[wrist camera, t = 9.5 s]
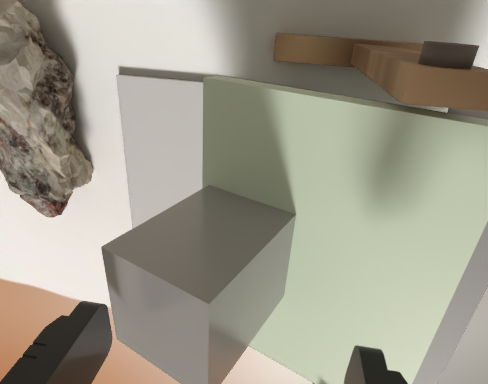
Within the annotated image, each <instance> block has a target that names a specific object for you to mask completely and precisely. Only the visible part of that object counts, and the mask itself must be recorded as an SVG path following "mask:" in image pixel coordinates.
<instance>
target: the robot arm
mask: <svg viewBox="0 0 488 384" xmlns="http://www.w3.org/2000/svg"><path fill="white" fill-rule="evenodd" d="M111 344H112V331H111V325H110V320H109V314H108V308H107V306H106V305H105V304H100V303H93V302H87V301H82V302H80V303H79V304H78V305H77V306H76V308H75V309H74V310H73V312H72V313H71V314H70V315H69V316H63V315H62V316H60V317H59V318H57V319H56V320H55V321H53V322H52V323H50V324H49V325H48V326H46V327H45V329H43V331H42V332H41V333H40V334H39V335H38V337H37V338H36V339H35V340H34V342H33V344H32V345H30V347H29V348H28V349H27V350H26V351H25V352H24V354H23V357H22V358H20V359H19V360H18V361H17V362H16V364H15V365H14V366H13V367H12V368H11V370H10V371H9V372H8V373H7V374H6V376H5V377H4V378H3V379H2V380H1V382H0V384H91V383H92V382H93V380H94V378H95V376H96V375H97V373H98V371H99V369H100V368H101V366H102V364H103V362H104V361H105V359H106V357H107V355H108V353H109V350H110V347H111ZM344 384H408V383H407V382H406V380H405V379H404V377H403V376H402V374H401V373H400V372H398V371H391V370H388V369H387V365H386V361H385V357H384V354H383V352H382V350H381V349H377V348H370V347H364V346H358V345H355V346H354V349H353V352H352V355H351V358H350V361H349V365H348V368H347V371H346V374H345V378H344Z"/></svg>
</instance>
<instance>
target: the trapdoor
mask: <svg viewBox="0 0 488 384" xmlns="http://www.w3.org/2000/svg"><path fill="white" fill-rule="evenodd" d="M208 185H210V186H213V187H216V188H219V189H222V190H225V191H228V192H231V193H234V194H237V195H240V196H243V197H246V198H249V199H252V200H255V201H258V202H260V203H263V204H266V205H269V206H272V207H275V208H278V209H281V210H284V211H287V212H290V213H293V214H296V219H295V225H294V232H293V239H292V246H291V252H290V259H289V266H288V273H287V280H286V286H285V293H284V297H283V298H282V299H281V301H280V302H279V304H278V305H277V306H276V308H275V309H274V311H273V312H272V313H271V315H270V316H269V317H268V319H267V320H266V322H265V323H264V324H263V326H262V327H261V329H260V330H259V331H258V333H257V334H256V336H255V337H254V338H253V340H252V341H251V343H250V344H249V345H248V346H250V347H251V348H253V349H255V350H257V351H259V352H260V353H262V354H264V355H265V356H267V357H269V358H271V359H272V360H274V361H276V362H278V363H279V364H281V365H283V366H285V367H287V368H288V369H290V370H292V371H293V372H295V373H297V374H299V375H301V376H302V377H304V378H306V379H307V380H309V381H311V382H313V383H314V384H344V378H345V374H346V371H347V368H348V365H349V361H350V358H351V355H352V352H353V349H354V346H355V345H358V346H364V347H370V348H377V349H381V350H382V352H383V354H384V357H385V361H386V365H387V369H388V370H391V371H398V372H400V373H401V374H402V376H403V377H404V379H405V380H406V382H407V383H408V384H437V383H438V381H439V379H440V378H441V375H442V374H443V372H444V370H445V368H446V366H447V364H448V362H449V360H450V358H451V356H452V354H453V353H454V351H455V349H456V347H457V345H458V343H459V341H460V339H461V337H462V335H463V333H464V331H465V329H466V327H467V325H468V323H469V322H470V320H471V318H472V316H473V314H474V312H475V310H476V308H477V306H478V304H479V302H480V300H481V299H482V297H483V295H484V293H485V291H486V289H487V287H488V111H479V110H468V109H457V108H449V109H448V112H447V113H445V112H438V111H432V110H426V109H420V108H414V107H408V106H402V105H396V104H390V103H384V102H378V101H372V100H366V99H360V98H354V97H348V96H342V95H336V94H330V93H323V92H317V91H311V90H305V89H299V88H293V87H287V86H281V85H275V84H269V83H263V82H257V81H251V80H245V79H239V78H233V77H227V76H221V75H214V76H208V77H203V166H202V189H203V188H204V187H206V186H208Z"/></svg>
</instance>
